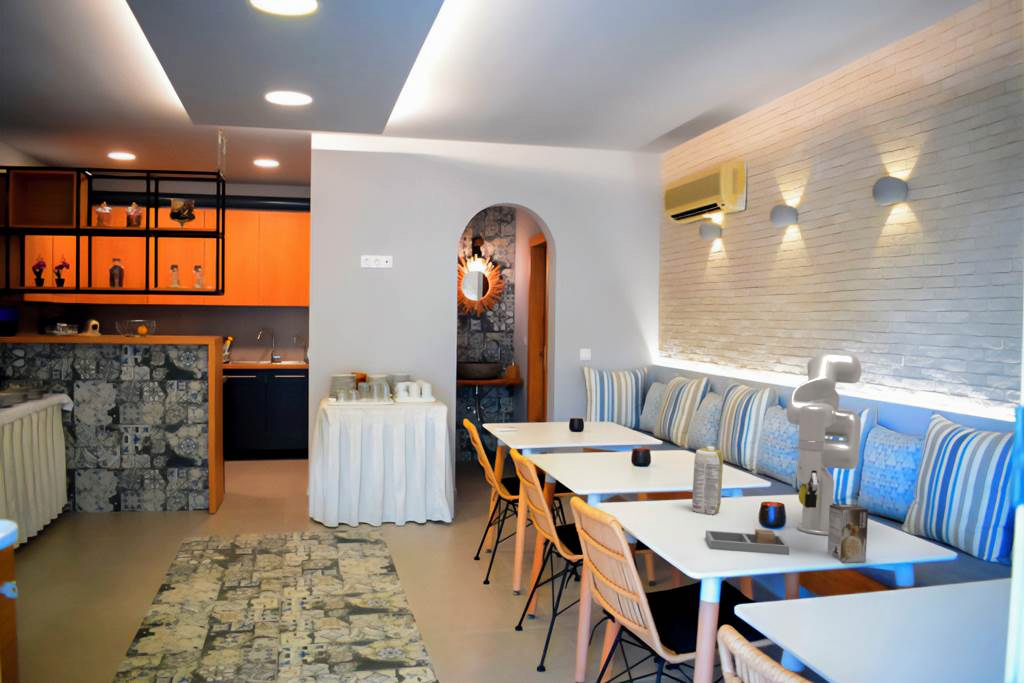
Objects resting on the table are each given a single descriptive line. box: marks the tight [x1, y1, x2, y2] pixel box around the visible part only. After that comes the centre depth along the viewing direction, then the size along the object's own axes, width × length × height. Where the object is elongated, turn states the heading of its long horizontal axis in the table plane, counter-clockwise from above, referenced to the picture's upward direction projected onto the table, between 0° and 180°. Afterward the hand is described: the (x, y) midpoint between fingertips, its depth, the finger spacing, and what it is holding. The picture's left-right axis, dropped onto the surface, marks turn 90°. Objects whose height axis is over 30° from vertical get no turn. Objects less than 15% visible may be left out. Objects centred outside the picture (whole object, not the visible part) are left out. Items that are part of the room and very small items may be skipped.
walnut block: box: [754, 528, 776, 545], centre depth 250 cm, size 5×5×5 cm
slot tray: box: [704, 529, 790, 556], centre depth 251 cm, size 12×23×4 cm, turn 84°
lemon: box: [798, 483, 818, 509], centre depth 248 cm, size 6×6×8 cm
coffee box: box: [827, 504, 869, 564], centre depth 245 cm, size 9×6×16 cm
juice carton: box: [691, 445, 724, 515], centre depth 298 cm, size 9×8×24 cm
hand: (807, 504), depth 249 cm, fingers closed on lemon, 5 cm apart
